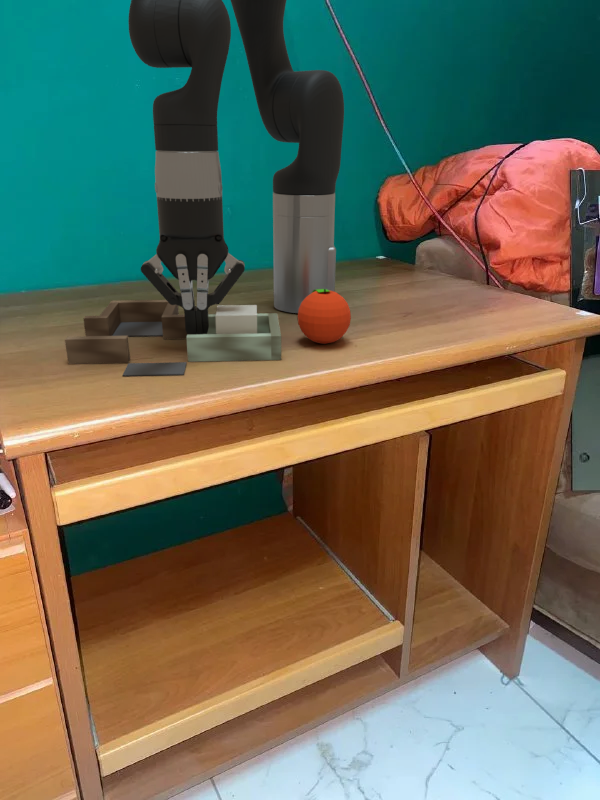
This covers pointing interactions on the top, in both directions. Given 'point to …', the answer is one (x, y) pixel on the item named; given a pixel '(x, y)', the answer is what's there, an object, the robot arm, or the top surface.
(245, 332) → the cream block
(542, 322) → the top surface
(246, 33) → the robot arm
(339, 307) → the clementine
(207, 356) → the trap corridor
